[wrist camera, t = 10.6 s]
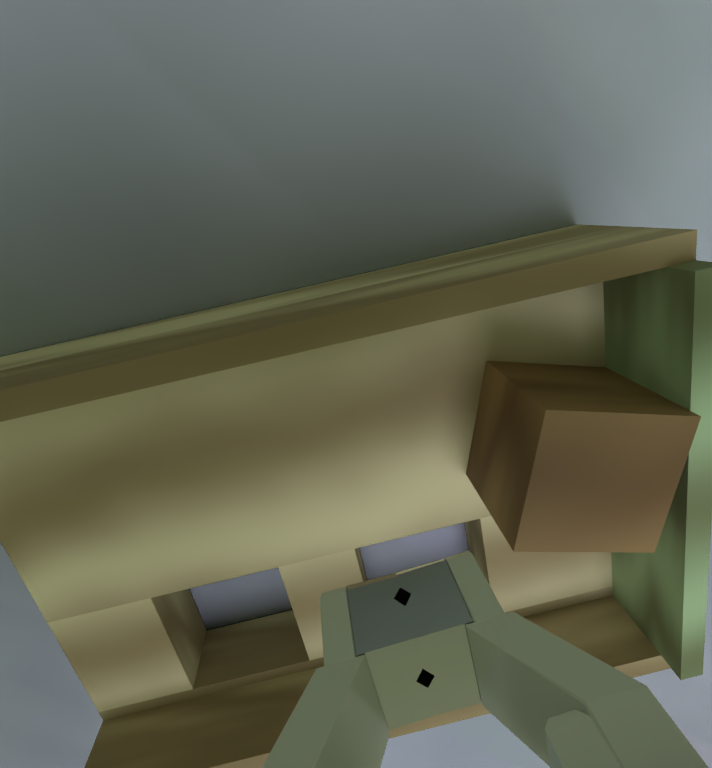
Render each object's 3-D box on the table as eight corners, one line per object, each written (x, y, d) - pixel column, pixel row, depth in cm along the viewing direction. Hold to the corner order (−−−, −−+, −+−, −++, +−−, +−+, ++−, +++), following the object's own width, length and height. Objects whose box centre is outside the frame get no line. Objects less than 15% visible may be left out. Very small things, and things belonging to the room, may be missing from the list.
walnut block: (576, 476, 18) (654, 552, 14) (465, 474, 18) (513, 551, 14) (605, 367, 17) (701, 416, 13) (486, 360, 17) (545, 410, 12)
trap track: (592, 558, 24) (701, 690, 17) (134, 670, 23) (66, 849, 17) (576, 224, 18) (728, 230, 12) (-25, 362, 18) (-218, 449, 11)
